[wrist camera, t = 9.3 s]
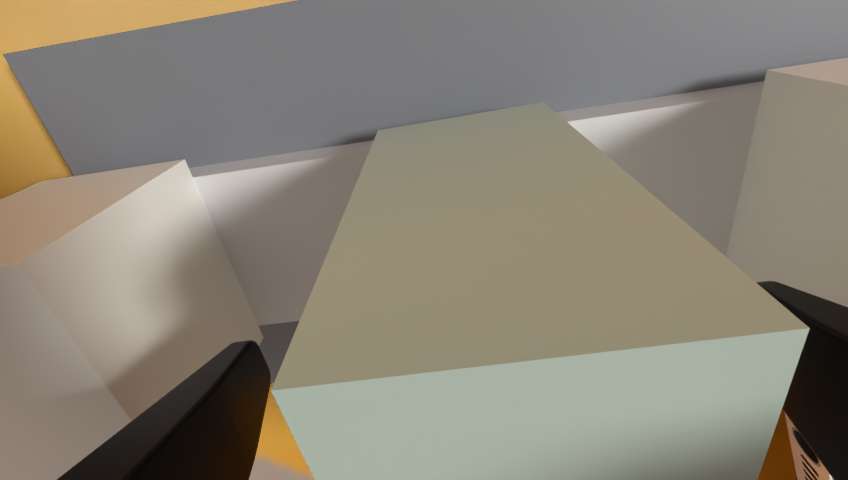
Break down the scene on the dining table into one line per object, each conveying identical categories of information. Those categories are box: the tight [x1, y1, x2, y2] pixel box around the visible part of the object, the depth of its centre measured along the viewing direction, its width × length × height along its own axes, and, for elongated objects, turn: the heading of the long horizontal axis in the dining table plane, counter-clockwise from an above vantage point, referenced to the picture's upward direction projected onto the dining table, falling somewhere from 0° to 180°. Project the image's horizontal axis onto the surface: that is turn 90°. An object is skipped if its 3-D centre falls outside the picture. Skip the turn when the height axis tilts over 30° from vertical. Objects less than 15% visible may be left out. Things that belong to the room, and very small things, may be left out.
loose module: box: [271, 102, 810, 480], centre depth 8 cm, size 4×6×8 cm, turn 10°
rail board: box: [0, 0, 848, 480], centre depth 10 cm, size 22×12×7 cm, turn 99°
